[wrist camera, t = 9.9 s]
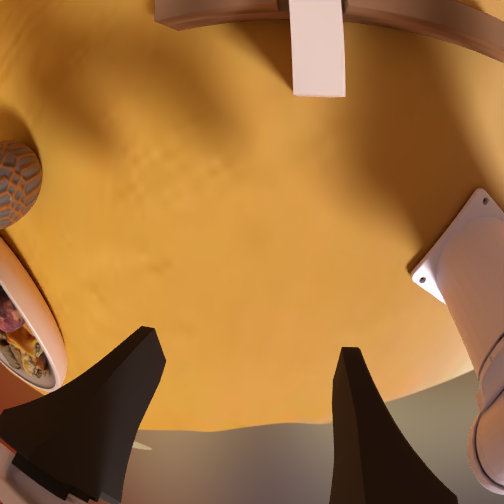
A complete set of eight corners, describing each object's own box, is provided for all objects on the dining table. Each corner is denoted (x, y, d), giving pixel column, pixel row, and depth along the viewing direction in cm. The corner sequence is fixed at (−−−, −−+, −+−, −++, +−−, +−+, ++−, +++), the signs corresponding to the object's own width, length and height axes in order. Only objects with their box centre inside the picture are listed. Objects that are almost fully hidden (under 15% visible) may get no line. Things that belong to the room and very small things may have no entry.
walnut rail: (500, 38, 9) (526, 34, 6) (502, 62, 10) (529, 62, 7) (177, 5, 12) (154, -8, 9) (178, 30, 13) (154, 21, 10)
